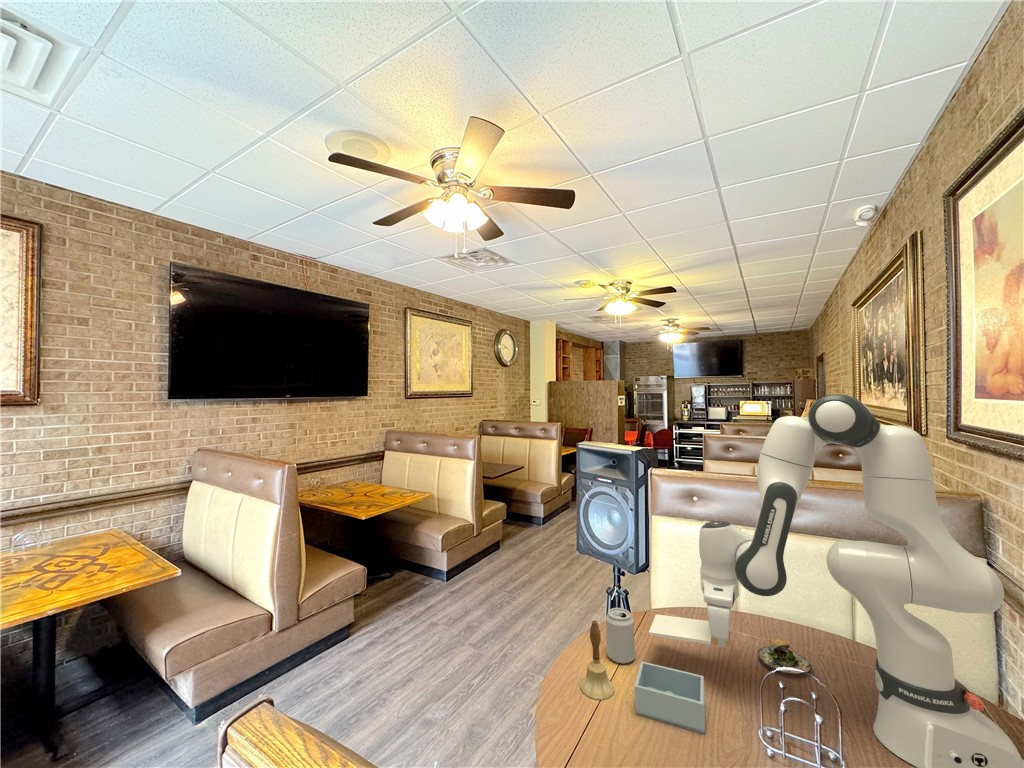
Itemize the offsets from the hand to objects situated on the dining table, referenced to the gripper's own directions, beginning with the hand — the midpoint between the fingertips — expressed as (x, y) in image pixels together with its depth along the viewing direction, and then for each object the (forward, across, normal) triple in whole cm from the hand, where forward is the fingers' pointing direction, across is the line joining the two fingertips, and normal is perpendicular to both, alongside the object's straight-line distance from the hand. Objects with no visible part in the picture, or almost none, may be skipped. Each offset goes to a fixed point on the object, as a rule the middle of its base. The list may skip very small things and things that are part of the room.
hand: (722, 640), depth 104 cm
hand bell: (+9, +20, -27) cm, 35 cm away
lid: (+1, 0, -7) cm, 8 cm away
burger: (+9, -12, +14) cm, 20 cm away
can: (+9, +5, -25) cm, 27 cm away
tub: (+9, +19, -10) cm, 23 cm away
